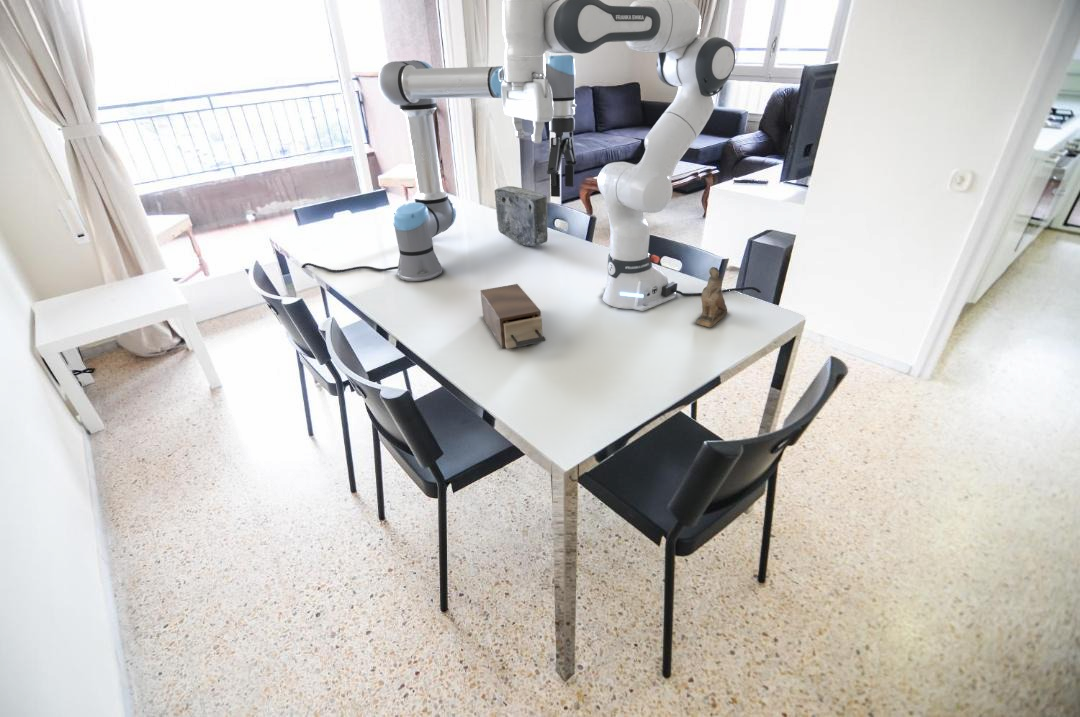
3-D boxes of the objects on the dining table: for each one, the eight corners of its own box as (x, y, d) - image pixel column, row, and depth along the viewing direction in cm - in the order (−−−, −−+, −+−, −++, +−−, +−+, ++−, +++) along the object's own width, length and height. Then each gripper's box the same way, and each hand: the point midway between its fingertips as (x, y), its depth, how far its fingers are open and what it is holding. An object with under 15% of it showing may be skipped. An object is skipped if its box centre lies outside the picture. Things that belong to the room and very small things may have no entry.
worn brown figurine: (709, 335, 136) (713, 280, 124) (691, 329, 139) (693, 274, 128) (730, 313, 142) (736, 258, 130) (712, 307, 145) (716, 253, 133)
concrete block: (552, 248, 194) (551, 196, 184) (534, 253, 190) (532, 200, 179) (515, 232, 213) (512, 184, 202) (497, 237, 208) (493, 188, 198)
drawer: (549, 350, 126) (549, 326, 122) (512, 358, 123) (511, 334, 119) (520, 313, 144) (519, 291, 141) (488, 319, 142) (485, 297, 138)
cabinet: (541, 340, 132) (540, 310, 128) (502, 348, 129) (499, 318, 125) (519, 310, 148) (517, 283, 143) (483, 317, 145) (480, 290, 140)
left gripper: (560, 122, 134) (561, 201, 145) (586, 112, 154) (585, 183, 165) (534, 121, 137) (537, 200, 148) (563, 112, 156) (564, 182, 167)
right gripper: (560, 72, 102) (561, 144, 109) (519, 71, 118) (522, 134, 125) (532, 73, 100) (535, 147, 107) (495, 72, 116) (499, 136, 123)
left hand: (562, 191), depth 156 cm, fingers open, 13 cm apart
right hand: (528, 140), depth 116 cm, fingers open, 8 cm apart
